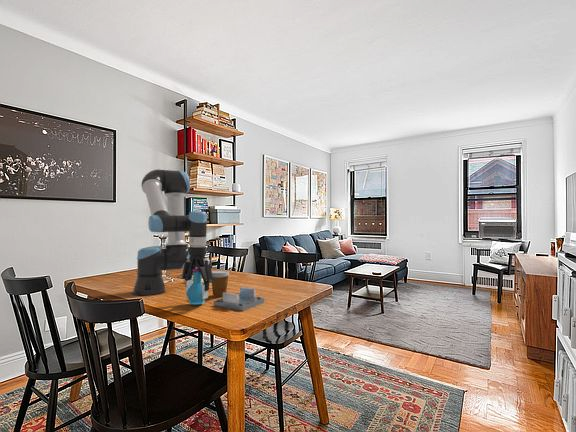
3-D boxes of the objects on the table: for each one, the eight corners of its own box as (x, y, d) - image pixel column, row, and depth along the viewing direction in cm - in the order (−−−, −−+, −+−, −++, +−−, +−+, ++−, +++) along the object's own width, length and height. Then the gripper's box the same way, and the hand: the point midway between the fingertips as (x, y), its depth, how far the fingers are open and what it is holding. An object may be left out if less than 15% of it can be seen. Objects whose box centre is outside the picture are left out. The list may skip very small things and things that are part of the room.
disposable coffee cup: (224, 298, 155) (225, 273, 155) (206, 297, 157) (206, 272, 157) (232, 293, 164) (232, 270, 164) (214, 292, 166) (214, 269, 166)
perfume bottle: (188, 299, 148) (189, 266, 148) (209, 299, 149) (209, 266, 149) (183, 305, 139) (184, 270, 139) (205, 305, 140) (206, 270, 140)
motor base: (213, 305, 143) (213, 292, 143) (236, 297, 157) (236, 285, 157) (242, 311, 135) (242, 296, 135) (264, 302, 149) (264, 289, 149)
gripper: (173, 245, 146) (173, 294, 146) (210, 248, 135) (209, 302, 135) (186, 243, 152) (185, 291, 153) (222, 247, 141) (221, 298, 142)
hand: (196, 296), depth 144 cm, fingers closed on perfume bottle, 9 cm apart
